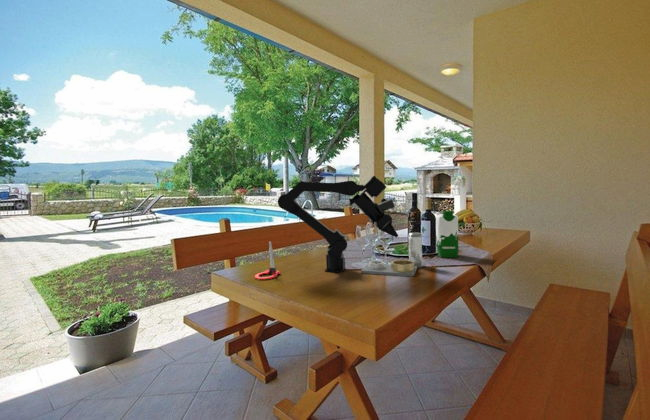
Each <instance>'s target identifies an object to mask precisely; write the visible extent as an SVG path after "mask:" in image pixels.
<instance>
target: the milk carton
mask: <svg viewBox="0 0 650 420" xmlns="http://www.w3.org/2000/svg"><path fill="white" fill-rule="evenodd" d="M435 217H436V218H435V221H436V222H435V231H436V233H435V237H436V238H435V239H436V241H435V242H436V251H437V255H438V256H439V257H440V258H458V255H459V216H458V215H456V214H454V211H453V210H443V211H442V214H436V216H435Z"/></svg>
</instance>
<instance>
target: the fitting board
mask: <svg viewBox="0 0 650 420" xmlns="http://www.w3.org/2000/svg"><path fill="white" fill-rule="evenodd" d="M417 269H418V268H417V266H414V271H411V272H396V271H393V270H391V264H386V263H384V268H383V269H378V270H376V269H370V268H368V263H367V265H365V266H364V267H363V268H361V270H360V273H361V274H367V275H368V274H371V275H382V276H383V275H385V276H399V277H414V275H415V274H416V272H417Z"/></svg>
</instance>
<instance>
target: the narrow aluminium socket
mask: <svg viewBox="0 0 650 420" xmlns="http://www.w3.org/2000/svg"><path fill="white" fill-rule="evenodd" d="M367 264H368V268H370V269H376V270H378V269H383V268H384V264H385V262H384V261H382V260H370V261H368V262H367Z"/></svg>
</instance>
